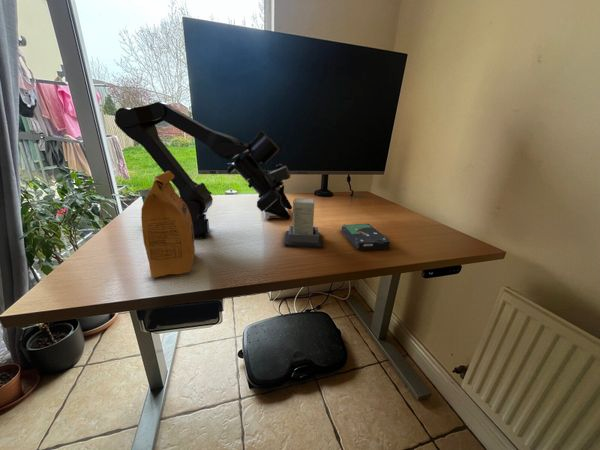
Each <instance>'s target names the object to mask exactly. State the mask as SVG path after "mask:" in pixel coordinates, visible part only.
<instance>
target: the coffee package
mask: <svg viewBox="0 0 600 450" xmlns="http://www.w3.org/2000/svg"><path fill="white" fill-rule="evenodd" d="M174 177H175V176H174V174H172V173H171V172H170V171H166V172H165V173H164V172H163V173H160V174H158V175H156V176H154V180H153V184H152V186H151V187H152V188H151V187H150V188H151V189H150V191H149V193H148V195H147V197H146V199H145V200H144V203H143V202H142V207H141V214H140V215H141V217H140V218H141V219H140V220H141V231H142V239H143V241H142V242H143V244H144V249H145V252H146V255H147V256H146V257H147V260H148V264H149V271H150V277H151V278H154V279H155V278H159V277H165V276H168V275H182V274H185V273H189V272H191V271H192V269H193V265H194V260H195V253H196V247H195V246H196V245H195V238H194V230H193V225H192V219H191V215H190V212H189V210H188V207H187V205H186V204H185V202H184V201H183V200H182V199H181V197H180V194H178V193H177V192H176V190H175V188H174V186H173V185H172V184H173V183H172V181H171V180H172V179H174Z"/></svg>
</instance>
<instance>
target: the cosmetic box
mask: <svg viewBox="0 0 600 450" xmlns="http://www.w3.org/2000/svg"><path fill="white" fill-rule="evenodd" d="M314 217H315V198H299V197H297V198H294V199H293V201H292V226H293V234H312V235H313V227H314V219H315V218H314Z"/></svg>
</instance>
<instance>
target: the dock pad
mask: <svg viewBox="0 0 600 450" xmlns="http://www.w3.org/2000/svg"><path fill="white" fill-rule="evenodd" d="M284 247H291V248H292V247H293V248H294V247H295V248H311V249H312V248H315V249H322V248H323V245H322V238H321V233H320V232H319V227H318V226H313V235H312V234H293V225H289V227H288V230H286V232H285V240H284Z"/></svg>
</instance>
